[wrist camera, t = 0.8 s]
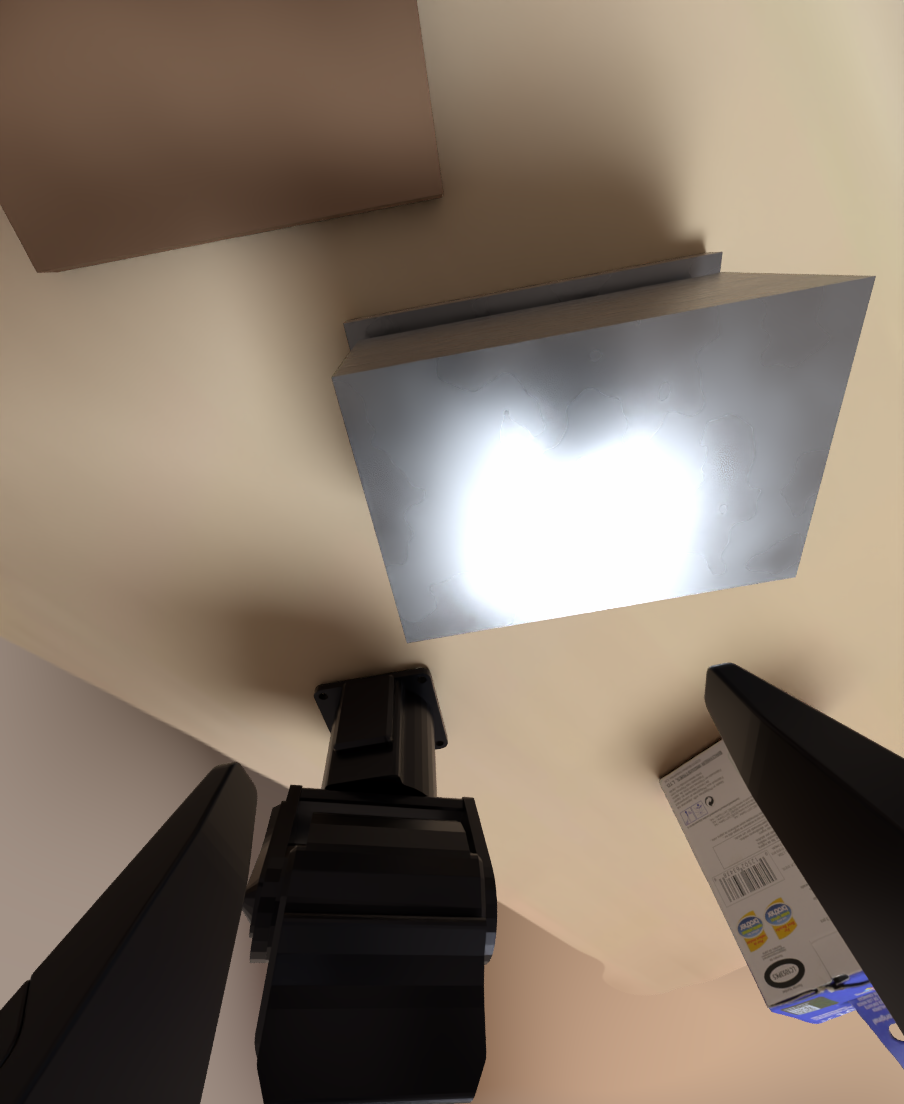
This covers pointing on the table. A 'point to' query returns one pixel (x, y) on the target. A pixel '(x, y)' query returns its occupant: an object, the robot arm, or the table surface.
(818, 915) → the ink cartridge box
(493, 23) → the table surface
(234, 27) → the plate
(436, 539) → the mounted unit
